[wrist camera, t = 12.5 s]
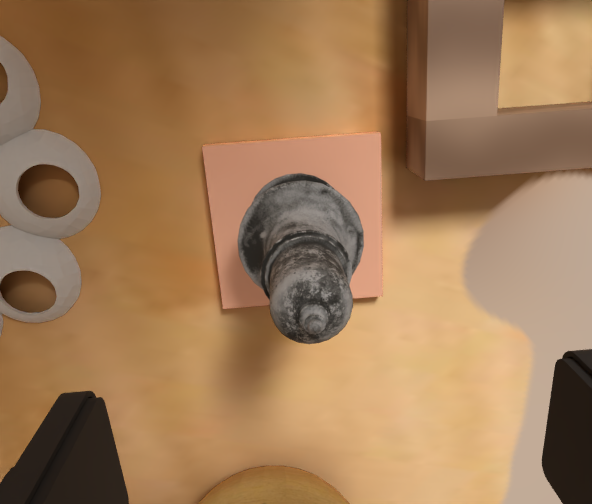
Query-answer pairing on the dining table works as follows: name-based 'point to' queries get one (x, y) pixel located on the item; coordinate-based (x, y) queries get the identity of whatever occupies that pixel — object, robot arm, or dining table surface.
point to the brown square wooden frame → (478, 101)
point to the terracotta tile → (281, 161)
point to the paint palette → (6, 202)
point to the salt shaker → (303, 254)
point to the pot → (274, 488)
